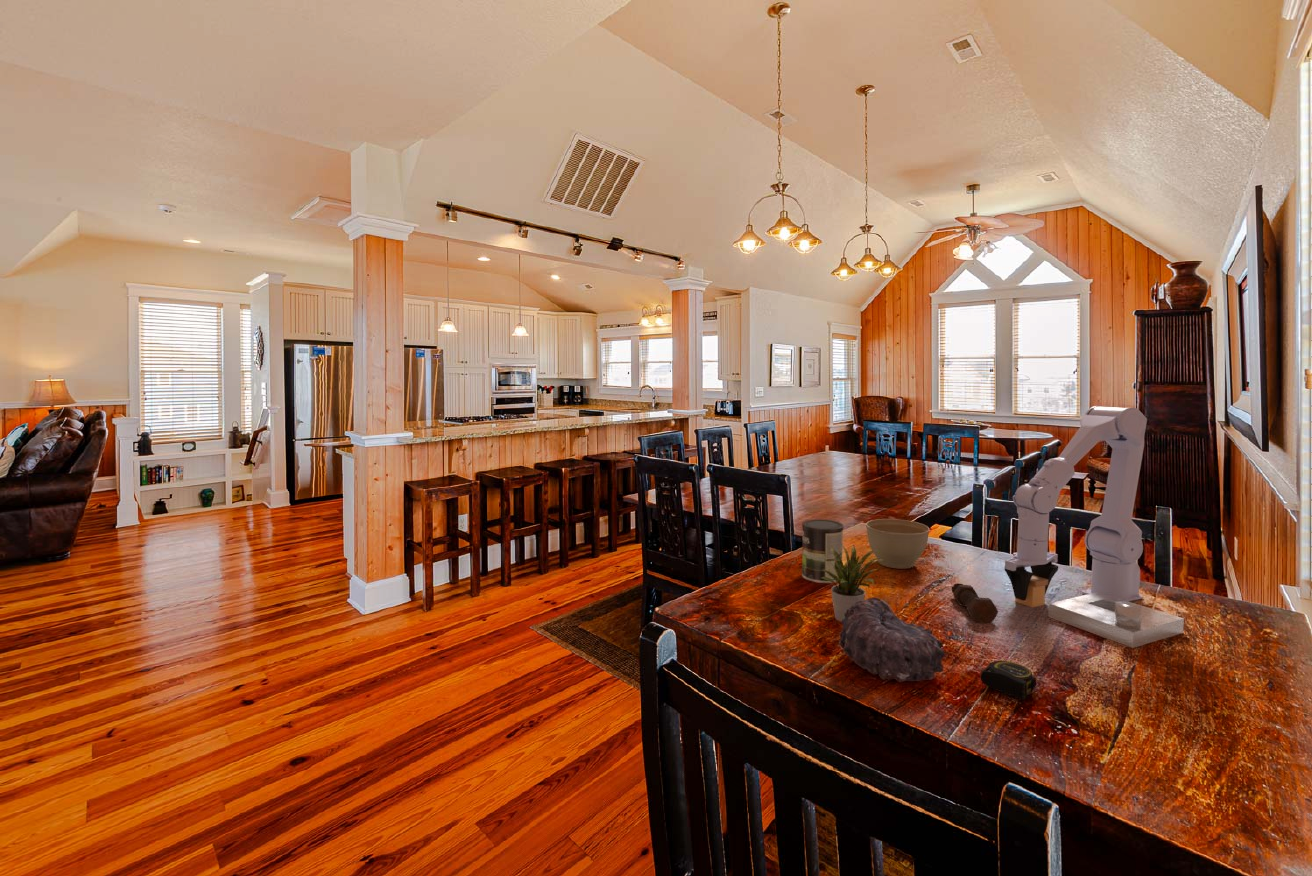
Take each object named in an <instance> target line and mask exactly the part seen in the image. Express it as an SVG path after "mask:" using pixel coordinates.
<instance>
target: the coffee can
mask: <svg viewBox="0 0 1312 876" xmlns="http://www.w3.org/2000/svg"><path fill="white" fill-rule="evenodd" d="M801 526H802V548H801V549H802V553H801V554H802V562H801V563H802V564H801V565H802V568H801V569H802V570H801V571H802V573H801V576H802V578H803V579H805V580H806V581H809V582H813V583H817V584H818V583H819V584H833V583H832V582H831V581H829V580H826V579H823V578H822V577H828V578H830V579H831V580H833V581H834V582H835V583H837V582H836V580H835V579H834V578H833V577H831V576H830V575H828V574H827V573H826V572H825V571H823V570H822V569H824V570H827V571H829V572H831V573H833V574H834V575H836V576H837V573H836V570H835V569H834V567H835V566H834V564H835V561H836V559H835V557H834V555H833V552H832V550H831V548H830V547H832V548H833V549H834V550H835V551H836V552H837V553H838V554H839V555H840V557H841V559H842V560H843V550H844V549H843V547H842V545H843V544H844V542H843V540H844V539H843V538H844V524H843V523H842V522H839V521H836V520H832V519H821V518H819V519H818V518H817V519H815V518H814V519H808V520H805V521H803V522H802V524H801ZM840 543H841V544H842V545H841V544H840ZM829 546H830V547H829ZM843 546H844V545H843ZM816 553H817V554H816ZM819 554H820V555H819ZM821 555H822V556H821ZM823 556H824V557H825V558H824V557H823ZM833 566H834V567H833ZM837 577H838V576H837ZM838 578H839V577H838Z"/></svg>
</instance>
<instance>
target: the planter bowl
mask: <svg viewBox="0 0 1312 876" xmlns="http://www.w3.org/2000/svg"><path fill="white" fill-rule="evenodd" d="M865 527H866V537H867V541H868V545H869V547H870V549H871V551H873V550H878V549H881V550H878V551H875V552H873V553H872V554H874V556H875V557H876V558H880V559H881V560H876V561H877V563H878V564H879V565H881V566H883V567H887V568H890V569H891V568H892V569H902V570H903V569H904V570H907V569H911V567H912V568H914V567H915V566H914V565H916V562H917V561H918V560H919V559H920V558H921V557H922V555H923V553H924V552H925V550H926V547H927V544H928V539H929V534H930V528H929V526H928V525H925V524H924V523H920V522H917V521H914V520H913V521H911V520H906V519H897V518H881V519H880V518H877V519H872V520H867V522H866V523H865ZM882 560H885V561H882ZM913 566H914V567H913Z"/></svg>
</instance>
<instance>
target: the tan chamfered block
mask: <svg viewBox="0 0 1312 876" xmlns="http://www.w3.org/2000/svg"><path fill="white" fill-rule="evenodd" d="M1045 585H1048V579H1045V578H1041V577H1038V576H1035V575H1033V576H1032V577H1031V579H1030V582H1029V585H1028V591H1027V597H1026V600H1024V601H1023V600H1020V599H1017V598H1015V597H1014V599H1015V602H1016V603H1019V604H1021V605H1023V606H1024V605H1025V606H1027V607H1030V608H1036V607H1040V606H1044V605H1045V600H1046V598H1045V597H1046V594H1045Z"/></svg>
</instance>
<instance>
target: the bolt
mask: <svg viewBox="0 0 1312 876" xmlns="http://www.w3.org/2000/svg"><path fill="white" fill-rule="evenodd" d="M951 592H952V595H953V597H954V599H955V600H956V602H957V603H958V604H959V605H960V606H964V607H965V606H966V611H967V612H968V614H969V615H970V617H971V618H972V620H973V621H974V622H975V623H980V624H989V623H990V624H991V623H992V622H994V620H995V619H996V618H997V616H998V614H999V610H998V608H997V606H996V605H995V603H994V602H993V600H992V599H990V597H979V596H978V593H977V592H976V590H975V589H974V587H973V586H972V585H971V584H963V583H954V584H953V585H952V586H951Z"/></svg>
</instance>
